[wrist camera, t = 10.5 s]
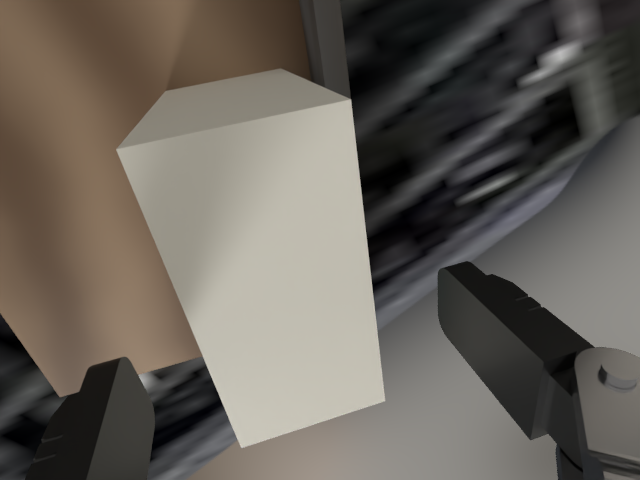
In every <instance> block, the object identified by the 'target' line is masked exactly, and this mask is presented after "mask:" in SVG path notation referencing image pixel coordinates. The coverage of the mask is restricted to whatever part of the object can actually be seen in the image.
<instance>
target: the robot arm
mask: <svg viewBox="0 0 640 480" xmlns="http://www.w3.org/2000/svg"><path fill="white" fill-rule="evenodd" d="M438 317H439V321H440V325H441V328H442V330H443V332H444V334H445V335H446V336H447V338H448V339H449V340H450V341H451V343H452V344H453V345H454V346H455V348H456V349H457V350H458V351H459V353H460V354H461V355H462V356H463V358H464V359H465V360H466V361H467V363H468V364H469V365H470V366H471V368H472V369H473V370H474V371H475V372H476V374H477V375H478V376H479V377H480V379H481V380H482V381H483V382H484V384H485V385H486V386H487V387H488V388H489V390H490V391H491V392H492V393H493V394H494V396H495V397H496V398H497V400H498V401H499V402H500V403H501V405H502V406H503V407H504V408H505V409H506V411H507V412H508V413H509V414H510V416H511V417H512V418H513V419H514V421H515V422H516V423H517V424H518V425H519V427H520V428H521V429H522V430H523V432H524V433H525V434H526V435H527V437H528V438H529V439H530V440H533V439H535V438H538V437H541V436H543V435H546V434H549V435H550V436H551V437H552V438H553V440H554V441H555V442H556V443H557V445H556V452H555V454H556V464H557V476H558V480H640V357H638V356H636V355H633V354H631V353H629V352H626V351H622V350H619V349H614V348H606V347H596V348H595V347H594V346H593V345H591V344H590V343H589V342H587V341H586V340H585V339H583V338H582V337H581V336H580V335H578V334H577V333H576V332H575V331H573V330H572V329H571V328H570V327H568V326H567V325H566V324H564V323H563V322H562V321H561V320H559V319H558V318H557V317H556V316H554V315H553V314H552V313H551V312H549V311H548V310H547V309H546V308H544V307H543V308H542V307H541V305H540V304H539V303H538V302H537V301H535V300H534V299H533V298H531V297H528V294H526V293H525V292H524V291H523V290H521V289H520V288H519V287H518V286H516V285H515V284H514V283H513V282H510V281H508V280H505V279H503V278H501V277H498V276H496V275H493V274H491V275H485V274H484V273H483V272H482V271H481V270H479V269H478V268H477V267H476V266H474V265H473V264H472V263H471V262H468V261H466V262H462V263H459V264H455V265H452V266H448V267H444V268H441V269H440V270H439V272H438ZM154 426H155V416H154V409H153V405H152V402H151V399H150V397H149V395H148V393H147V391H146V389H145V388H144V386H143V384H142V382H141V380H140V378H139V376H138V374H137V372H136V370H135V368H134V367H133V365H132V363H131V361H130V360H129V359H128V358H127V357H120V358H117V359H113V360H110V361H106V362H103V363H99V364H95V365H92V366H90V367H89V368H88V370H87V372H86V375H85V377H84V380H83V383H82V385H81V388H80V391H79V393H75V394H72V395H69V396H68V397H67V398H66V400H65V401H64V402H63V403H62V404H61V406H60V407H59V408H58V409H57V411H56V412H55V413H54V414H53V416H52V417H51V419H50V421H49V423H48V426H47V428H46V431H45V433H44V435H43V438H42V444H40V445H39V447H38V450H37V452H36V454H35V457H34V459H33V460H34V464H31V466H30V468H29V471H28V473H27V476H26V478H25V480H147V476H148V469H149V462H150V455H151V448H152V441H153V434H154Z"/></svg>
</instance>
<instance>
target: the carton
mask: <svg viewBox="0 0 640 480" xmlns="http://www.w3.org/2000/svg"><path fill="white" fill-rule="evenodd" d="M116 151H117V153H118V155H119V158H120V160H121V162H122V165H123V167H124V170H125V172H126V174H127V177H128V179H129V182H130V184H131V186H132V189H133V191H134V193H135V196H136V198H137V201H138V203H139V205H140V208H141V210H142V212H143V215H144V217H145V220H146V222H147V224H148V227H149V229H150V232H151V234H152V236H153V239H154V241H155V243H156V246H157V248H158V251H159V253H160V255H161V258H162V260H163V263H164V265H165V267H166V270H167V272H168V274H169V277H170V279H171V282H172V284H173V286H174V289H175V291H176V294H177V296H178V298H179V301H180V303H181V305H182V308H183V310H184V313H185V315H186V317H187V320H188V322H189V325H190V327H191V329H192V332H193V334H194V336H195V339H196V341H197V344H198V346H199V348H200V351H201V353H202V356H203V358H204V360H205V363H206V365H207V367H208V370H209V372H210V375H211V377H212V379H213V382H214V384H215V386H216V389H217V391H218V394H219V396H220V398H221V401H222V403H223V406H224V408H225V410H226V413H227V415H228V417H229V420H230V422H231V425H232V427H233V429H234V432H235V434H236V437H237V439H238V441H239V443H240V446H241V448H243V447H246V446H249V445H252V444H255V443H258V442H261V441H265V440H268V439H271V438H274V437H277V436H280V435H283V434H286V433H289V432H292V431H295V430H298V429H301V428H304V427H307V426H310V425H313V424H316V423H320V422H322V421H326V420H329V419H332V418H335V417H338V416H341V415H344V414H347V413H350V412H353V411H356V410H359V409H362V408H365V407H368V406H371V405H374V404H377V403H380V402H384V401H385V395H384V386H383V379H382V369H381V360H380V352H379V342H378V333H377V325H376V316H375V307H374V298H373V289H372V280H371V272H370V263H369V254H368V245H367V236H366V227H365V219H364V210H363V201H362V192H361V183H360V175H359V166H358V157H357V148H356V139H355V130H354V122H353V113H352V104H351V99H349V98H347V97H345V96H342V95H340V94H338V93H335V92H333V91H331V90H329V89H326V88H324V87H322V86H320V85H317V84H315V83H313V82H311V81H308V80H306V79H304V78H302V77H299V76H297V75H295V74H293V73H290V72H288V71H286V70H283V69H281V68H280V69H275V70H270V71H265V72H260V73H255V74H250V75H245V76H239V77H234V78H229V79H224V80H219V81H214V82H209V83H204V84H199V85H194V86H189V87H183V88H178V89H173V90H168V91H165V92H164V93H163V95H162V96H161V97H160V98H159V99H158V100H157V102H156V103H155V104H154V105H153V106H152V108H151V109H150V110H149V111H148V112H147V113H146V115H145V116H144V117H143V118H142V119H141V121H140V122H139V123H138V124H137V125H136V126H135V128H134V129H133V130H132V131H131V132H130V133H129V135H128V136H127V137H126V138H125V139H124V141H123V142H122V143H121V144H120V145H119V146H118V148H117V149H116Z"/></svg>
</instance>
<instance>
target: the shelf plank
mask: <svg viewBox="0 0 640 480" xmlns="http://www.w3.org/2000/svg"><path fill="white" fill-rule="evenodd" d="M280 68H281V69H283V70H286V71H288V72H290V73H293V74H295V75H297V76H299V77H302V78H304V79H306V80H308V81H311V82H313V83H315V84H317V85H320V86H322V87H324V88H326V89H329V90H331V91H333V92H335V93H338V94H340V95H342V96H345V97H347V98H349V99H351V96H350V87H349V77H348V68H347V59H346V50H345V41H344V32H343V23H342V13H341V4H340V0H0V313H1V315H2V316H3V318H4V319H5V320H6V322H7V323H8V325H9V326H10V327H11V329H12V330H13V332H14V333H15V334H16V336H17V337H18V339H19V340H20V342H21V343H22V344H23V346H24V347H25V349H26V350H27V351H28V353H29V354H30V356H31V357H32V358H33V360H34V361H35V363H36V364H37V365H38V367H39V368H40V370H41V371H42V373H43V374H44V375H45V377H46V378H47V380H48V381H49V382H50V384H51V385H52V387H53V388H54V389H55V391H56V392H57V394H58V395H59V397H62V396H66V395H69V394H73V393H76V392H79V391H80V388H81V385H82V383H83V380H84V377H85V375H86V372H87V370H88V368H89V367H90V366H92V365H95V364H99V363H103V362H106V361H110V360H113V359H117V358H120V357H127V358H128V359H129V360H130V361H131V363H132V365H133V367H134V368H135V370H136V372H137V374H138V375H139V374H142V373H146V372H149V371H153V370H156V369H160V368H163V367H167V366H170V365H173V364H177V363H180V362H184V361H187V360H191V359H194V358H198V357H201V356H202V353H201V351H200V348H199V346H198V344H197V341H196V339H195V336H194V334H193V332H192V329H191V327H190V325H189V322H188V320H187V317H186V315H185V313H184V310H183V308H182V305H181V303H180V301H179V298H178V296H177V294H176V291H175V289H174V286H173V284H172V282H171V279H170V277H169V274H168V272H167V270H166V267H165V265H164V263H163V260H162V258H161V255H160V253H159V251H158V248H157V246H156V243H155V241H154V239H153V236H152V234H151V232H150V229H149V227H148V224H147V222H146V220H145V217H144V215H143V212H142V210H141V208H140V205H139V203H138V201H137V198H136V196H135V193H134V191H133V189H132V186H131V184H130V182H129V179H128V177H127V174H126V172H125V170H124V167H123V165H122V162H121V160H120V158H119V155H118V153H117V151H116V149H117V148H118V146H119V145H120V144H121V143H122V142H123V141H124V139H125V138H126V137H127V136H128V135H129V133H130V132H131V131H132V130H133V129H134V128H135V126H136V125H137V124H138V123H139V122H140V121H141V119H142V118H143V117H144V116H145V115H146V113H147V112H148V111H149V110H150V109H151V108H152V106H153V105H154V104H155V103H156V102H157V100H158V99H159V98H160V97H161V96H162V95H163V93H164V92H165V91H168V90H173V89H178V88H183V87H189V86H194V85H199V84H204V83H209V82H214V81H219V80H224V79H229V78H234V77H239V76H245V75H250V74H255V73H260V72H265V71H270V70H275V69H280Z"/></svg>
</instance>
